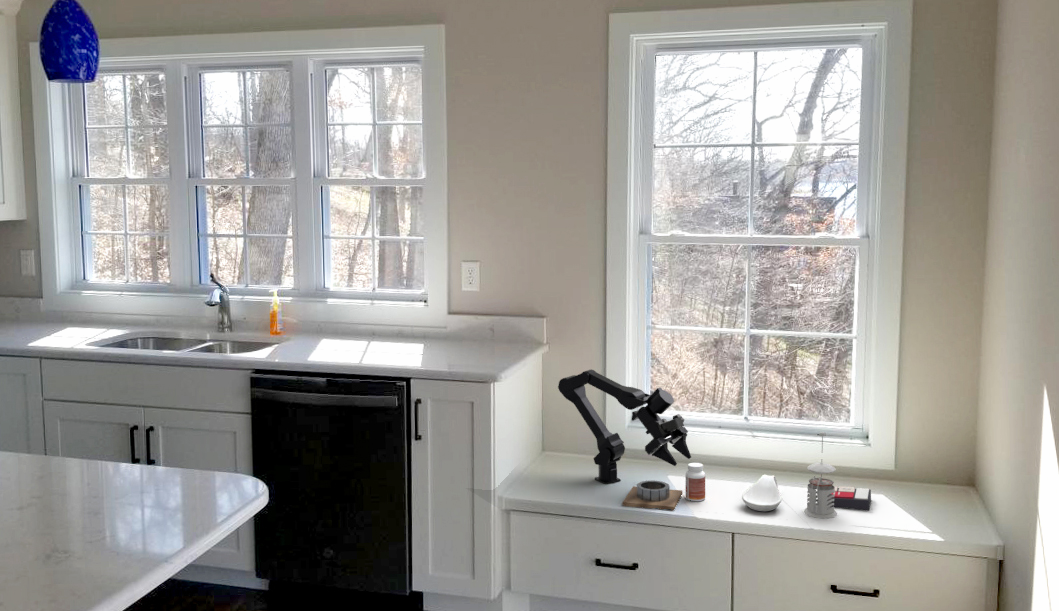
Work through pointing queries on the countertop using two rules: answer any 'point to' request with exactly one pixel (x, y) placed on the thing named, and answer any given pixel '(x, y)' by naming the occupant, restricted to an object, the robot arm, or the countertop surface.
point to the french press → (820, 491)
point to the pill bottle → (695, 482)
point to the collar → (653, 491)
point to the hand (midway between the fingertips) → (683, 461)
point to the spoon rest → (763, 494)
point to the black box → (852, 498)
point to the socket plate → (666, 504)
